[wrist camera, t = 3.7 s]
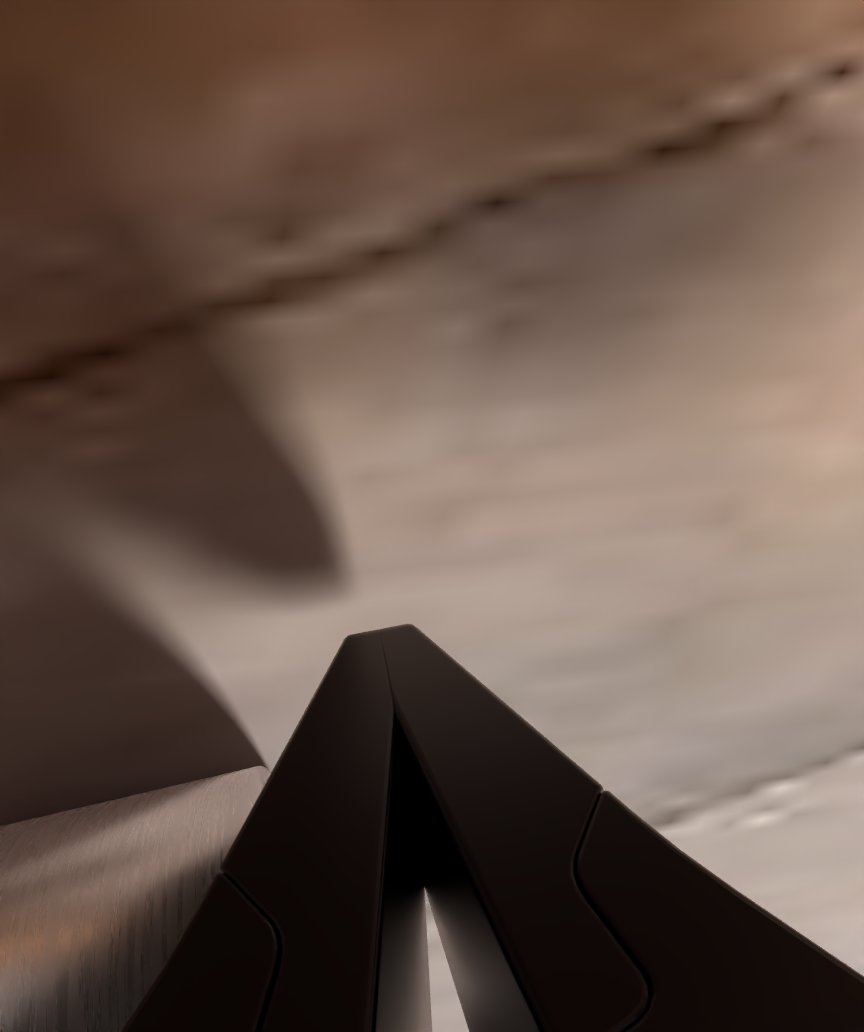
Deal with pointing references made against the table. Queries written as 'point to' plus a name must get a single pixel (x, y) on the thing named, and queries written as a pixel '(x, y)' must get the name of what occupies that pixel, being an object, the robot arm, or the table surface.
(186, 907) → the air tube
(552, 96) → the table surface
